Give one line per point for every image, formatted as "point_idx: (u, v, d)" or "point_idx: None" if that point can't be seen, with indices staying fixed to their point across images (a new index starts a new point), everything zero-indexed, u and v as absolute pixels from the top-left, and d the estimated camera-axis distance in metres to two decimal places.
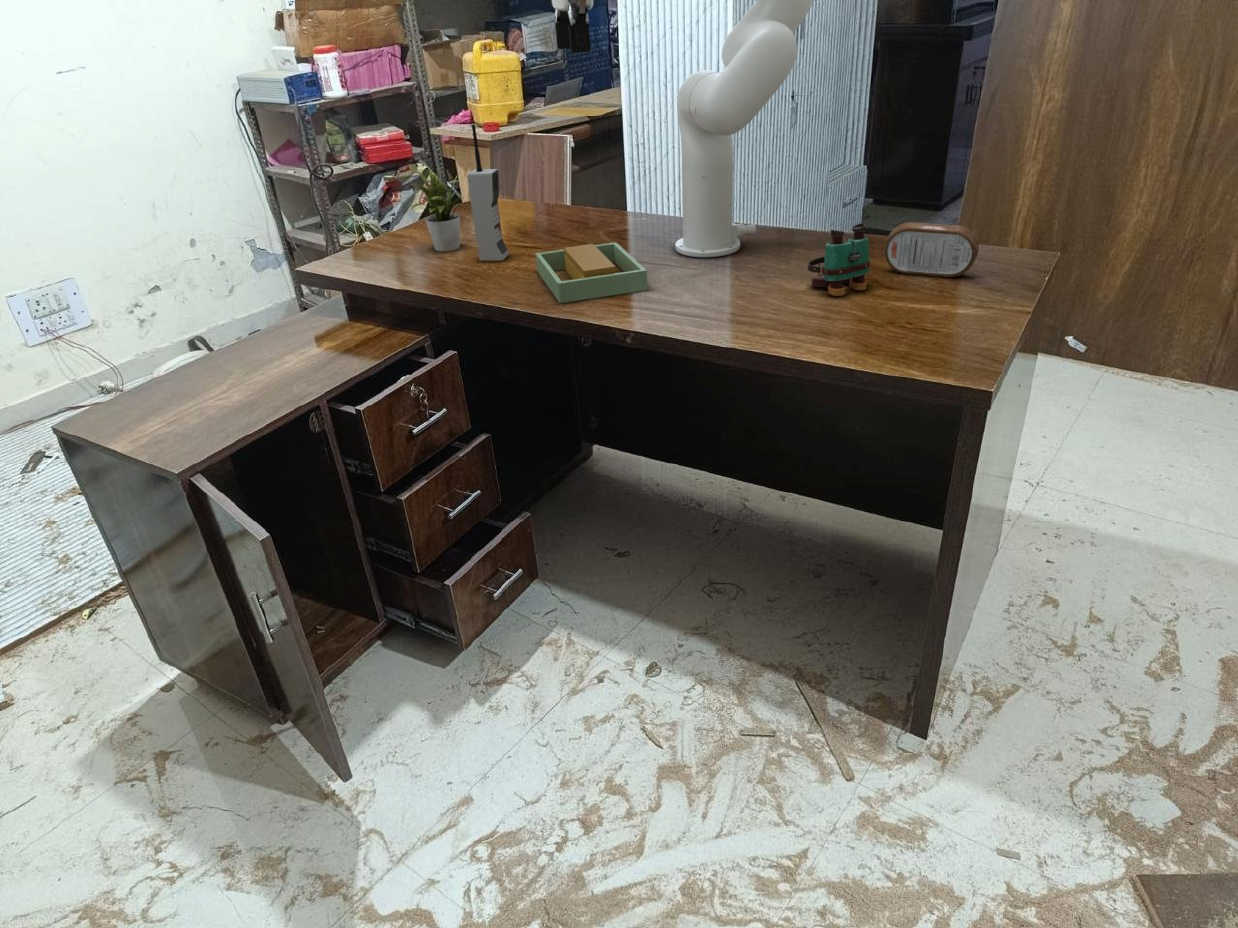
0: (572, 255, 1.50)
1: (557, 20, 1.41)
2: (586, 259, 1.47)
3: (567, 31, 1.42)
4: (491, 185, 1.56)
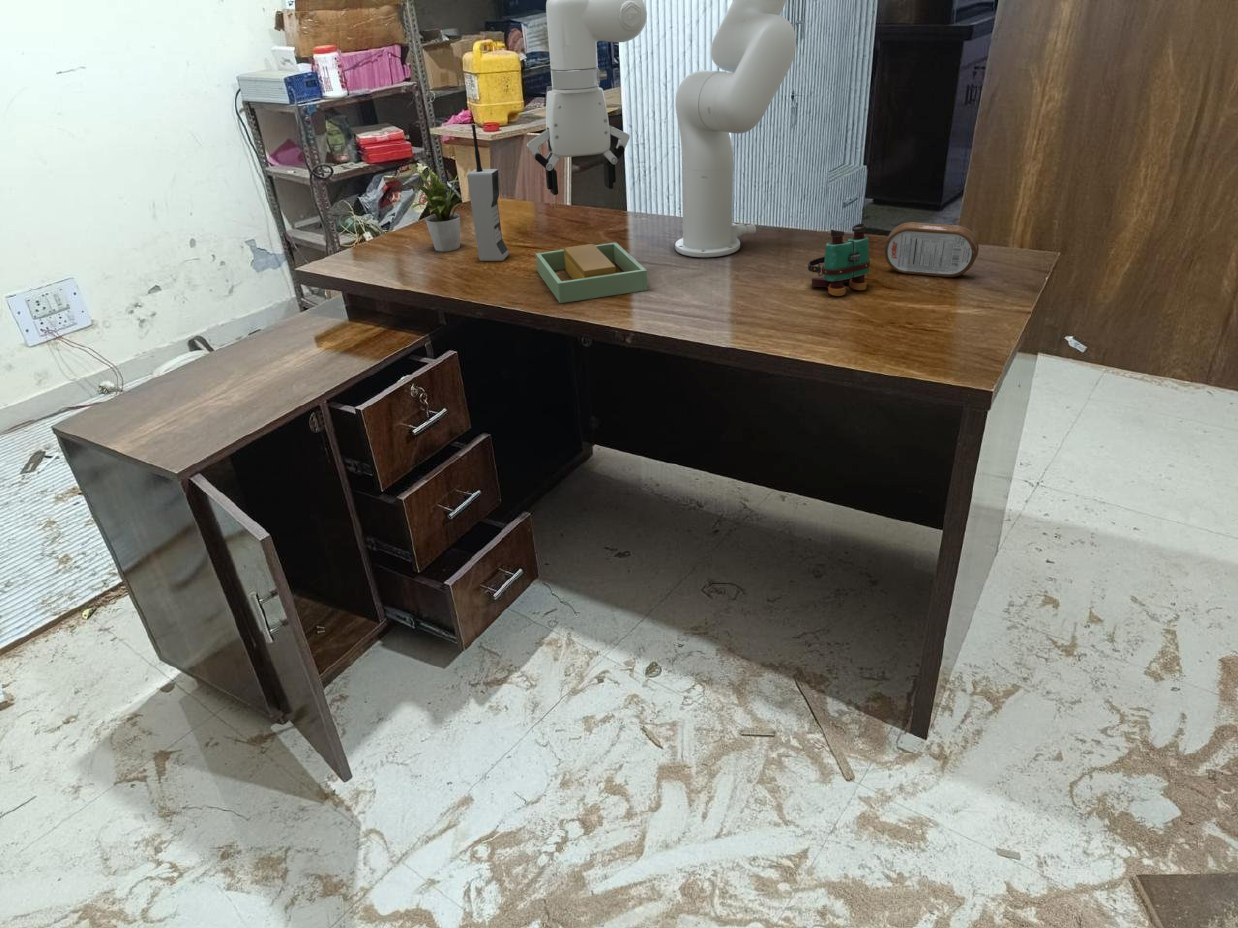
0: (572, 255, 1.50)
1: (552, 168, 1.38)
2: (586, 259, 1.47)
3: None
4: (491, 185, 1.56)
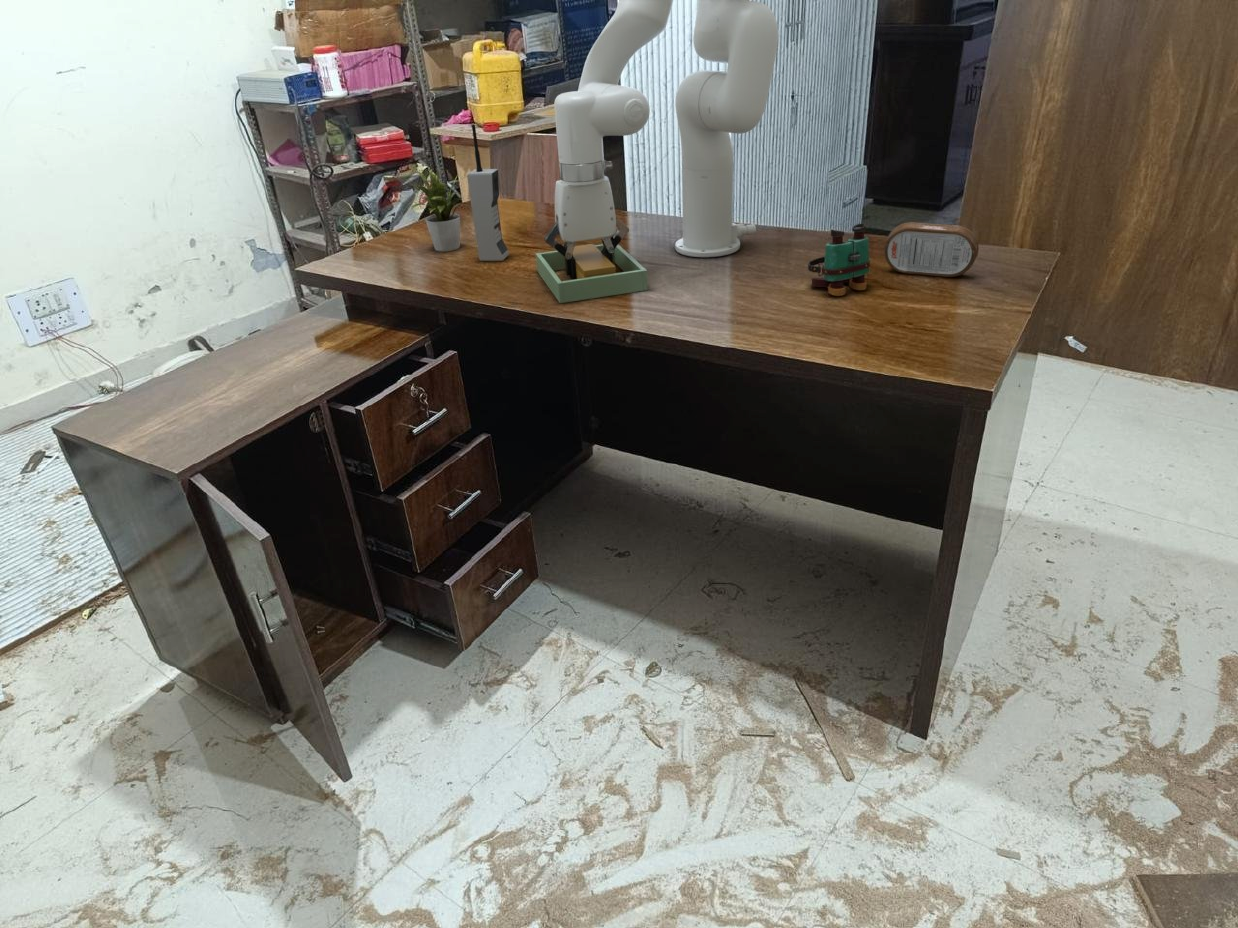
0: None
1: (571, 256, 1.46)
2: (586, 259, 1.47)
3: None
4: (491, 185, 1.56)
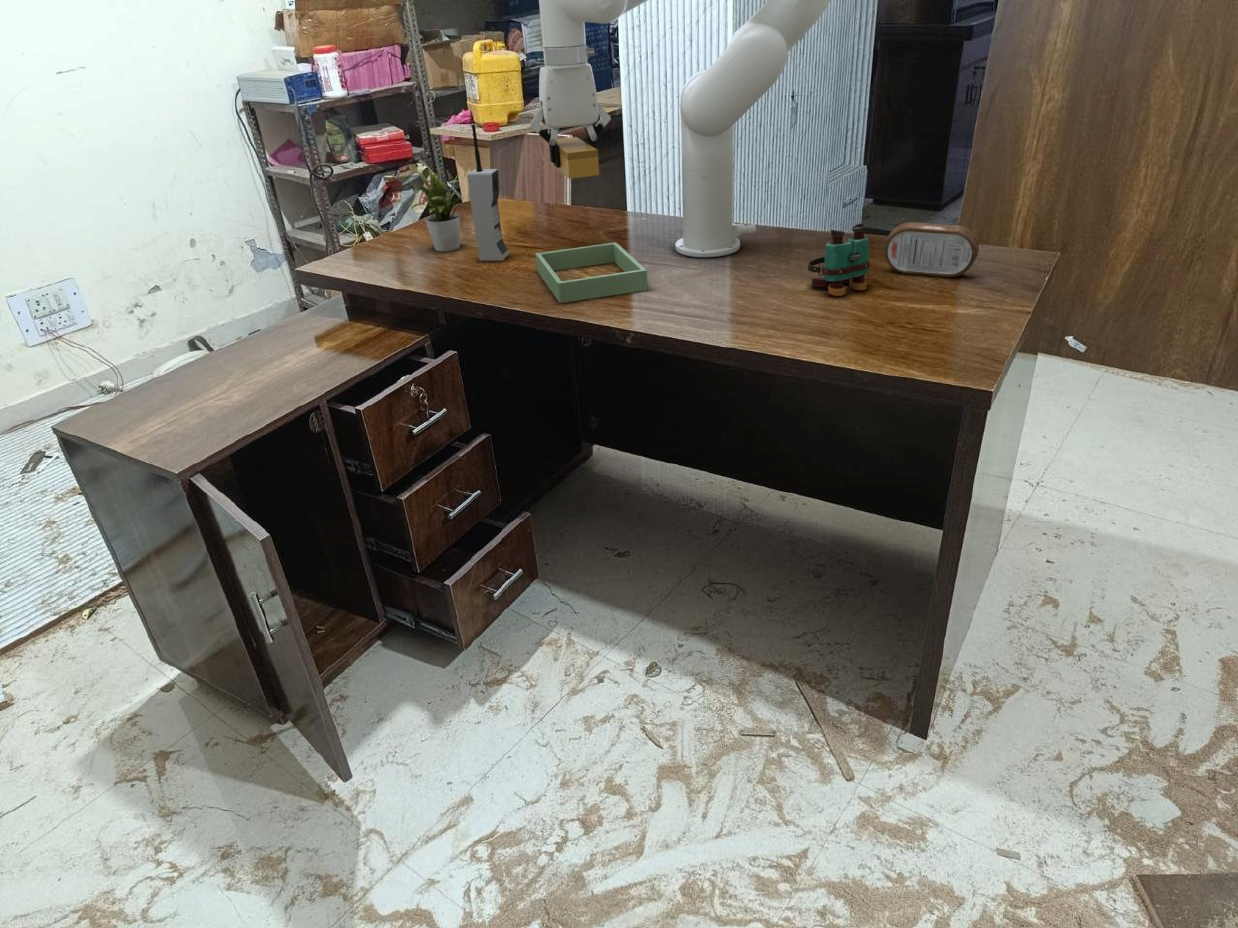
0: None
1: (555, 143, 1.52)
2: (569, 146, 1.53)
3: None
4: (491, 185, 1.56)
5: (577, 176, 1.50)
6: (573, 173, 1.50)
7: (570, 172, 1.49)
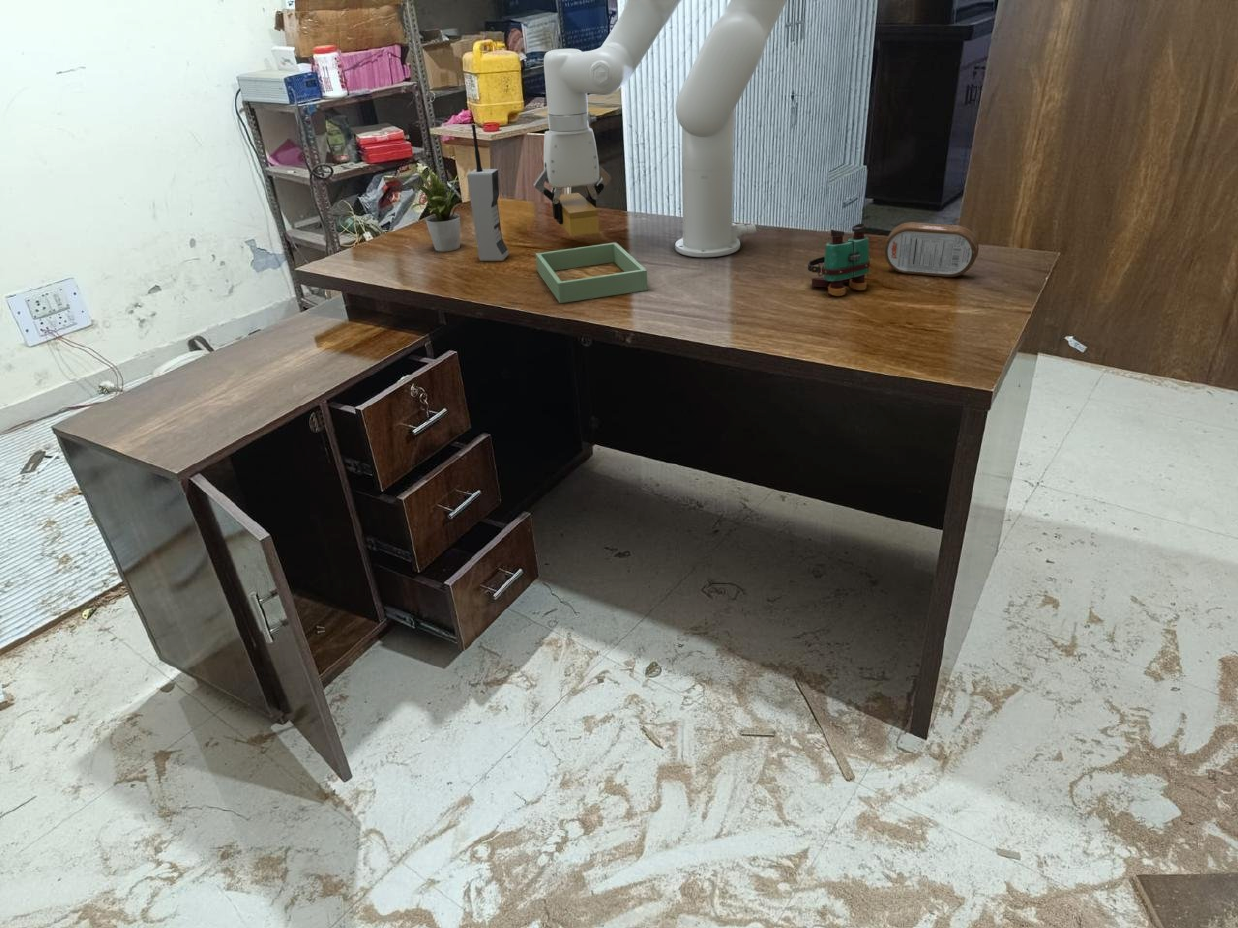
0: None
1: (558, 201, 1.61)
2: (571, 204, 1.62)
3: None
4: (491, 185, 1.56)
5: (578, 234, 1.59)
6: (575, 231, 1.58)
7: (572, 230, 1.58)
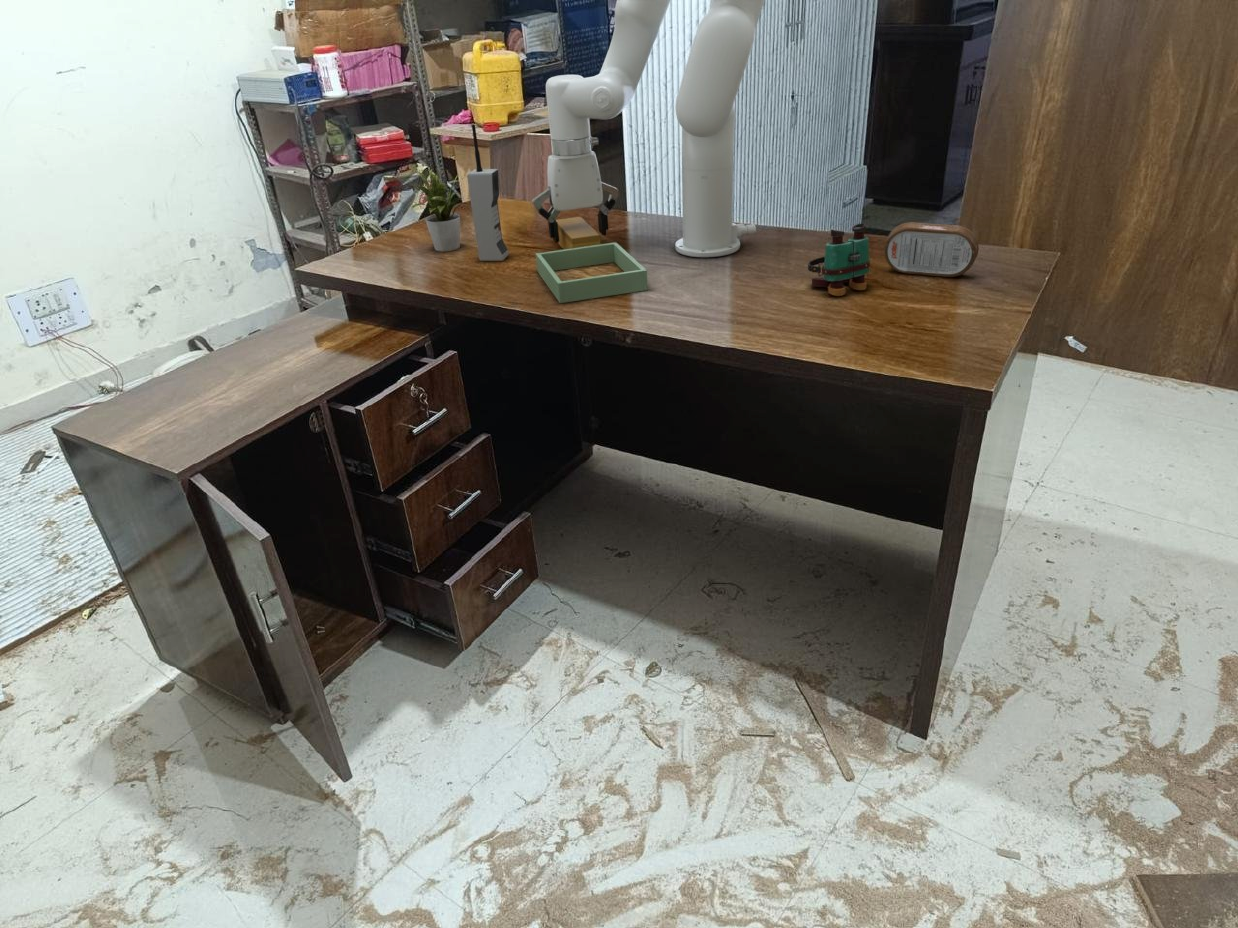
0: (561, 226, 1.67)
1: (554, 220, 1.62)
2: (573, 229, 1.64)
3: None
4: (491, 185, 1.56)
5: None
6: None
7: None
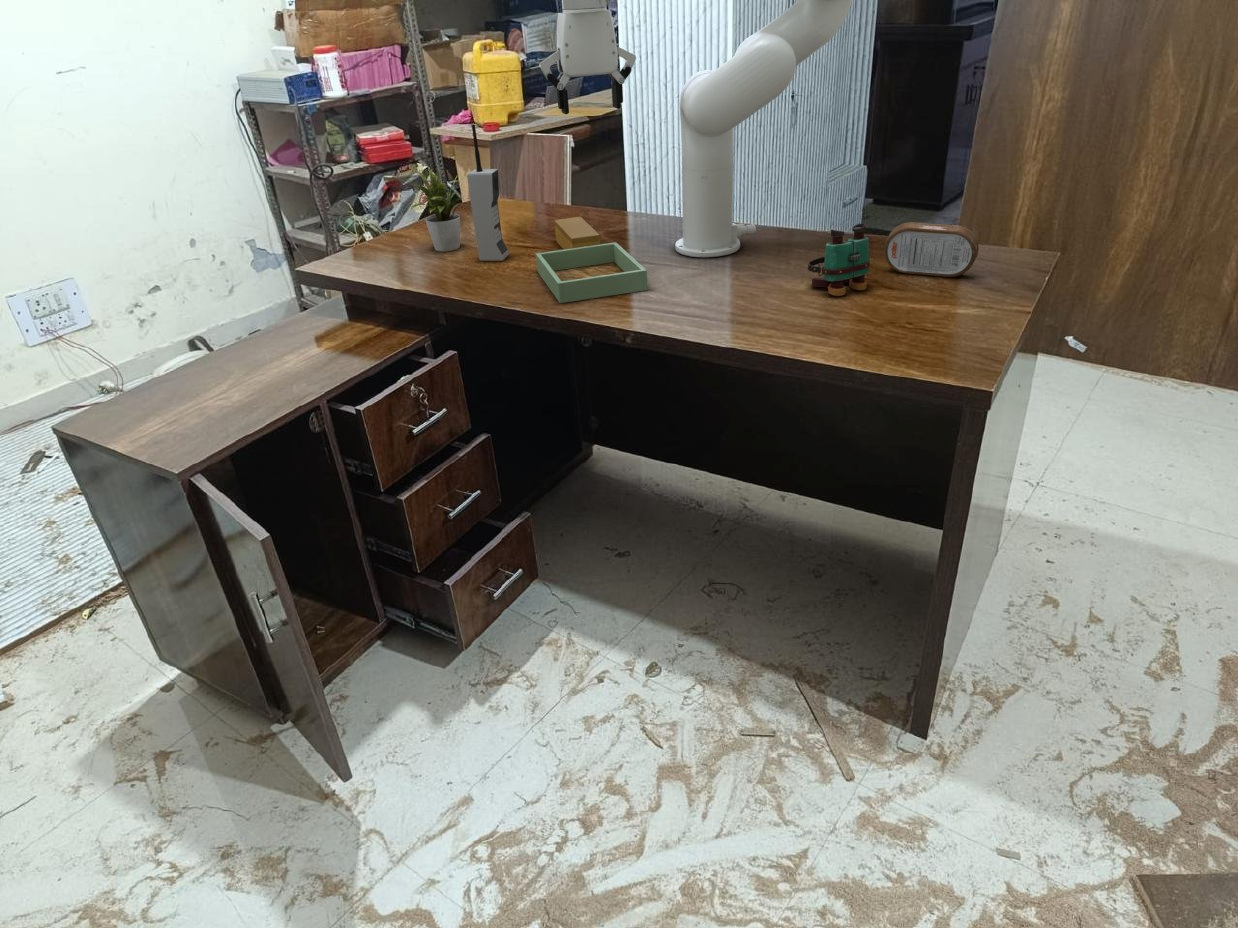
0: (561, 226, 1.67)
1: (563, 87, 1.46)
2: (573, 229, 1.64)
3: None
4: (491, 185, 1.56)
5: None
6: None
7: None
